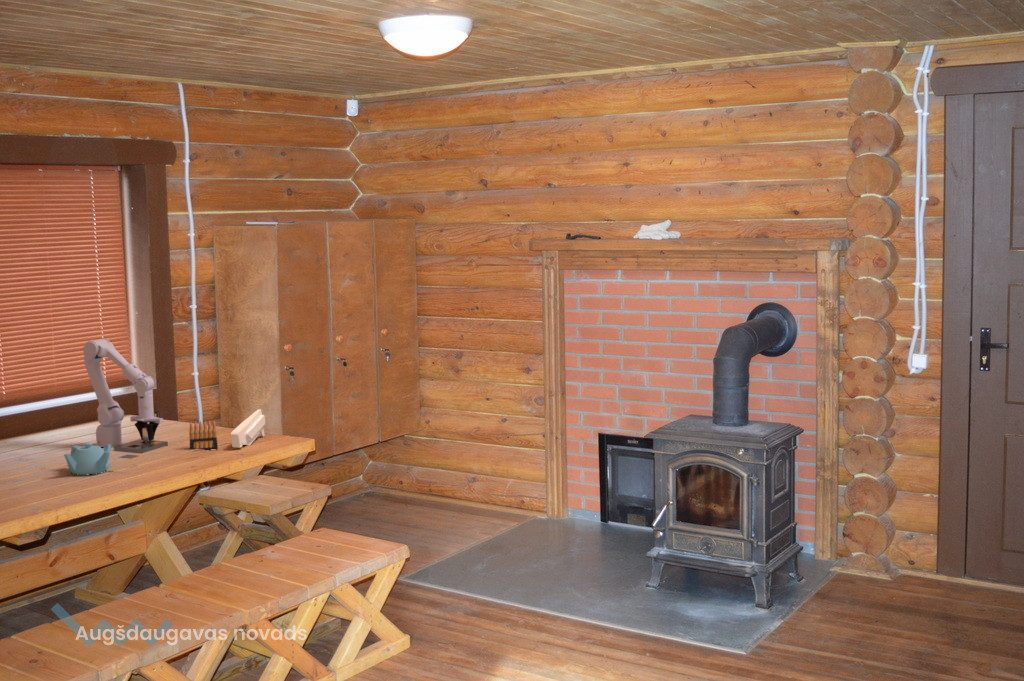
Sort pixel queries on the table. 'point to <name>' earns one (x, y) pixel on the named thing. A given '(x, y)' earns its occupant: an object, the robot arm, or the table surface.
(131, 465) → the table surface
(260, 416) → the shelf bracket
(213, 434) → the ammunition clip
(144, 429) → the steel peg
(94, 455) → the teapot
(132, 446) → the plate
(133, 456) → the tab
